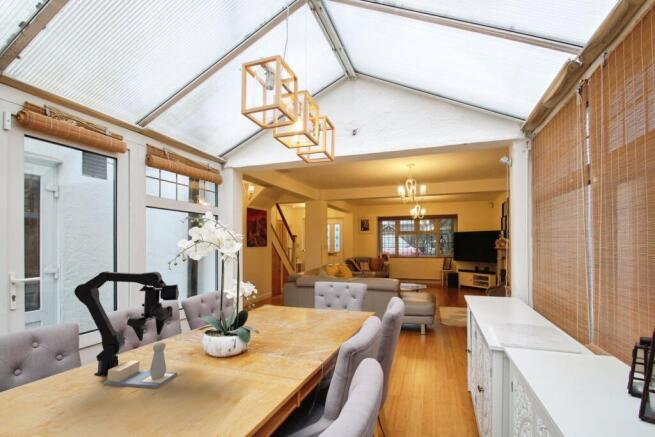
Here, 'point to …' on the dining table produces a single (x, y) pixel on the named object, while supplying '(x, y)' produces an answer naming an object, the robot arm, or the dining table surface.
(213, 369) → the dining table surface
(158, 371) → the salt shaker
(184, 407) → the dining table surface
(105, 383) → the board
